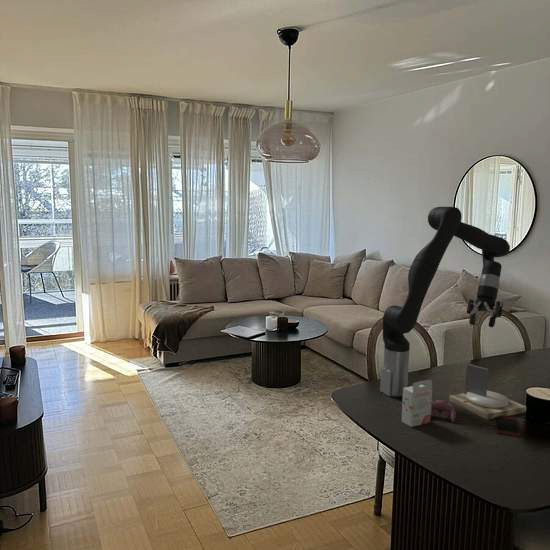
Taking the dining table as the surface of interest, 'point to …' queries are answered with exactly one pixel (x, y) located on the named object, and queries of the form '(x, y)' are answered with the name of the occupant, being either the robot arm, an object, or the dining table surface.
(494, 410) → the dial base
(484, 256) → the robot arm
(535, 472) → the dining table surface
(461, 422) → the dining table surface
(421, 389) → the ink cartridge box
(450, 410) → the video game controller
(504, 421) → the smartphone
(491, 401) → the grey panel on disc
